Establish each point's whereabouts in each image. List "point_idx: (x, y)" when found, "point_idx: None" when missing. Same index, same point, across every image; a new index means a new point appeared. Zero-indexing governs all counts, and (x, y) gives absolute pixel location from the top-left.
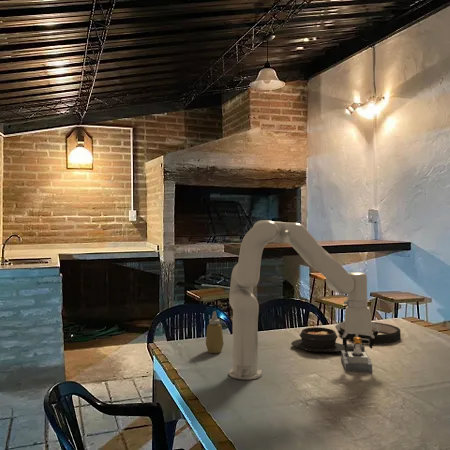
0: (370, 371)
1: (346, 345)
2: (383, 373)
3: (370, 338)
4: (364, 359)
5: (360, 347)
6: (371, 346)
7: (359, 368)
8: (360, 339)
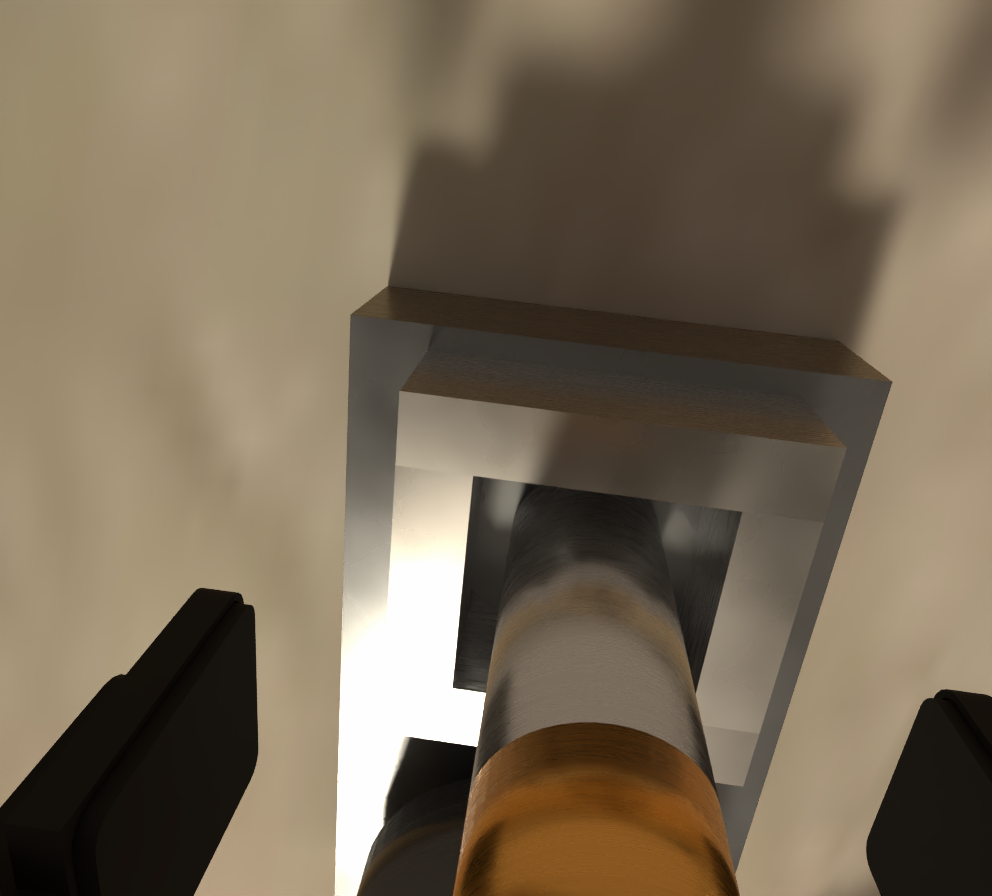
0: (414, 293)
1: (973, 742)
2: (214, 228)
3: (80, 864)
4: (487, 383)
5: (526, 657)
6: (199, 619)
7: (600, 324)
8: (503, 874)
